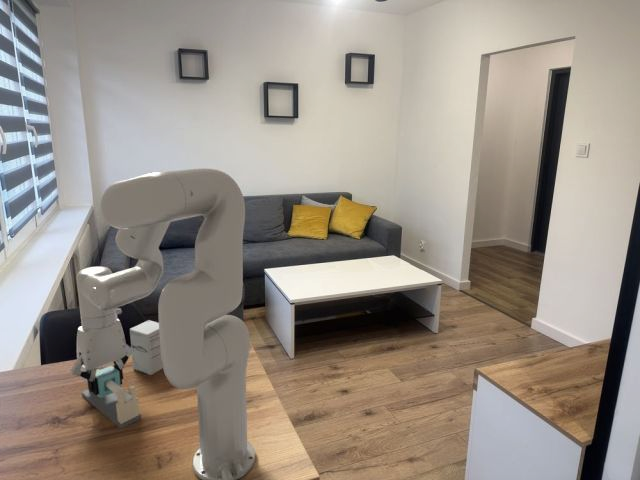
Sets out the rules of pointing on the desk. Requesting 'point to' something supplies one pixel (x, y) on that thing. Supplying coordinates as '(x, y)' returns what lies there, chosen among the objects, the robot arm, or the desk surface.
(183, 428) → the desk surface
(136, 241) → the robot arm
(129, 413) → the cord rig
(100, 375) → the sleeve
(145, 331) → the supplement box
